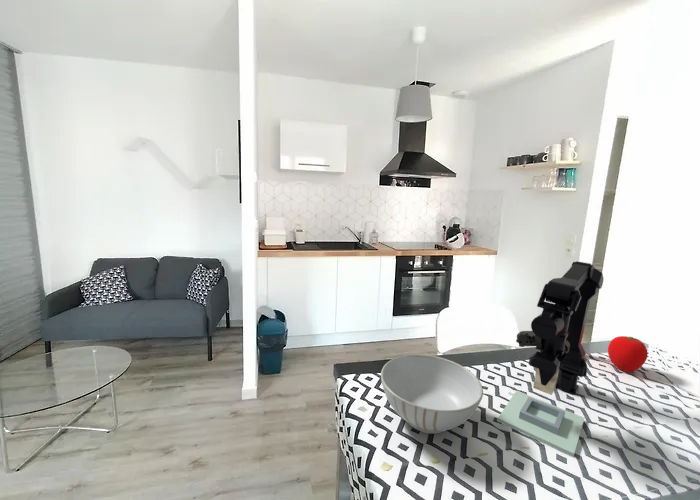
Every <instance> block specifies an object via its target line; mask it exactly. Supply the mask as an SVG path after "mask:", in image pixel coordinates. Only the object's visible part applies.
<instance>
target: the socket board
mask: <svg viewBox="0 0 700 500" xmlns="http://www.w3.org/2000/svg"><path fill="white" fill-rule="evenodd" d="M584 421H585V417H584V416H581V415H579V414H576V413H573V412H571V411H570V410H566V409H563V408H561V407H559V406H557V405H553V404H552V403H548V402H546V401H544V400H541V399H540V398H539V399H538V398H536V397H534V396H532V395H529V394H526V393H525V392H521V391H519V390H515V392H514V394H513V395H512V397H511V398H510V399H509V401H508V402H507V404H505V407H504V408H503V409H502V411H501V413H500V414H499V415H498V417H497V422H499V423H500V424H503V425H505V426H506V427H509V428H510V429H513V430H514V431H517V432H519V433H522V434H523V435H525V436H528V437H529V438H532V439H534V440H536V441H538V442H541V443H543V444H545V445H547V446H549V447H551V448H553V449H555V450H557V451H560V452H562V453H564V454H565V455H568V456H569V457H572V458H574V457H575V453H576V450H577V446H578V444H579V443H578V442H579V438H580V435H581V432H582V429H583V425H584Z"/></svg>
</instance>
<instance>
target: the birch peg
mask: <svg viewBox="0 0 700 500" xmlns="http://www.w3.org/2000/svg"><path fill="white" fill-rule="evenodd" d="M559 362H560V361H559ZM558 371H559V370H558ZM558 371H557V373H556V374H555V375H554V376H553V377H552V378H551V380H550V381H549V382H548V383H547V385H546V386H544V385H542V384H541V379H540V372H539V369H538V368H536V370H535V373H534V374H535V375H534V381H533V386H532V388H533V389H535V390H538V391H541V392H543V393H546V394H548V395H551V396H553V393H554V391H555V390H556V382H557V376H558Z"/></svg>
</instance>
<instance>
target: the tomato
mask: <svg viewBox="0 0 700 500" xmlns="http://www.w3.org/2000/svg"><path fill="white" fill-rule="evenodd" d="M607 354H608V359H609V360H610V362H611V363H612V365H614V366H615V368H617V369H618V370H621V371H624V372H626V373H633V372H635V371H637V370H639V369H641V368H642V366H643V365H644V364H646V363H645V362H647V359H648V349H647V346H646V345H645V343H644V342H642V340H641V339H638V338H635V337H633V336H624V335H622V336H621V335H620V336H615V337H614V338H612V339H611V341H610V342H609V343H608V346H607Z"/></svg>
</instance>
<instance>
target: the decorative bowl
mask: <svg viewBox="0 0 700 500" xmlns="http://www.w3.org/2000/svg"><path fill="white" fill-rule="evenodd" d="M380 380H381V385H382V388H383V391H384V394H385V396H386V399H387V400H388V403H389V404H390V406H391V408H392V409H393V410H394V411H395V413H396V414H397V415H399V416H400V418H401V419H403V420H404V421H405V422H407V423H408V425H409V426H411V427H412V428H413V429H415V430H417V431H419V432H422V433H425V434H440V433H443V432H445V431H449V430H452V429H455V428H457V427H459V426H461V425H462V424H464V423H465V422H466V421H467V420H469V419H470V418H471V417H472V416H473V414H474V413H475V412H476V411H477V409H478V408H479V405H480V404H481V402H482V399H483V396H484V388H483V386H482V383H481V381H480V380H479V378H478V377H477V376H476V375H475V374H474V373H473V372H472V371H470V370H469V369H468V368H466V367H465V366H463V365H461V364H459V363H458V362H455V361H453V360H449V359H447V358H444V357H441V356H436V355H431V354H423V353H421V354H416V353H413V354H405V355H404V354H403V355H400V356H395V357H394V358H392V359H390V360H388V361H387V362H386V363H385V364H384V365H383V367H382V369H381V371H380Z"/></svg>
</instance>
